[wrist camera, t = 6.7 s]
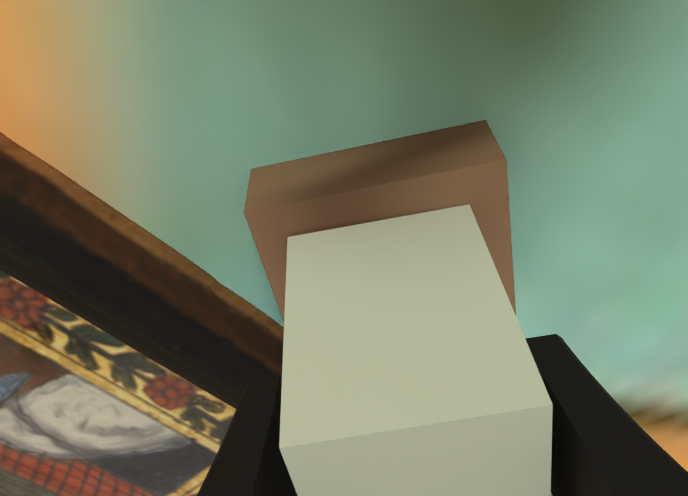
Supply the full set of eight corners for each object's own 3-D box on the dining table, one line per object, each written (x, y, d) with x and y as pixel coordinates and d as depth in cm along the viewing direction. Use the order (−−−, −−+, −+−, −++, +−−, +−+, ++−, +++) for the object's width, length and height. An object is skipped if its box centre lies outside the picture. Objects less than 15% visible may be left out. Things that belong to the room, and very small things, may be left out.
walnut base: (480, 111, 15) (506, 159, 13) (496, 288, 18) (518, 347, 16) (252, 159, 15) (243, 212, 13) (308, 322, 18) (307, 384, 17)
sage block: (469, 204, 13) (552, 404, 9) (479, 337, 16) (549, 549, 11) (287, 237, 14) (279, 448, 9) (323, 363, 16) (330, 581, 11)
